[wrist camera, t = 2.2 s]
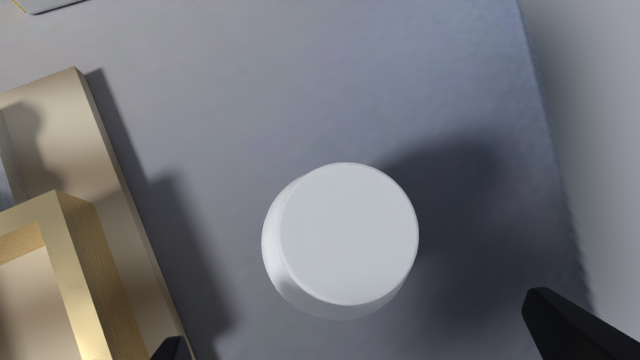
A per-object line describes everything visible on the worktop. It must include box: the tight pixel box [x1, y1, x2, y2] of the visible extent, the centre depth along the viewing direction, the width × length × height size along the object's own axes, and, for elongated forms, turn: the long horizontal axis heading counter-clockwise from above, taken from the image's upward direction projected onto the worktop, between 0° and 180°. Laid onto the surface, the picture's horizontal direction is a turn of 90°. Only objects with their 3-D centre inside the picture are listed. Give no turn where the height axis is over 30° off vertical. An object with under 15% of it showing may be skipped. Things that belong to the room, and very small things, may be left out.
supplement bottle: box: [261, 162, 419, 321], centre depth 15 cm, size 5×5×10 cm
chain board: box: [0, 66, 196, 360], centre depth 17 cm, size 25×12×1 cm, turn 27°
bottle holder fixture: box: [0, 110, 150, 360], centre depth 15 cm, size 23×9×3 cm, turn 27°
